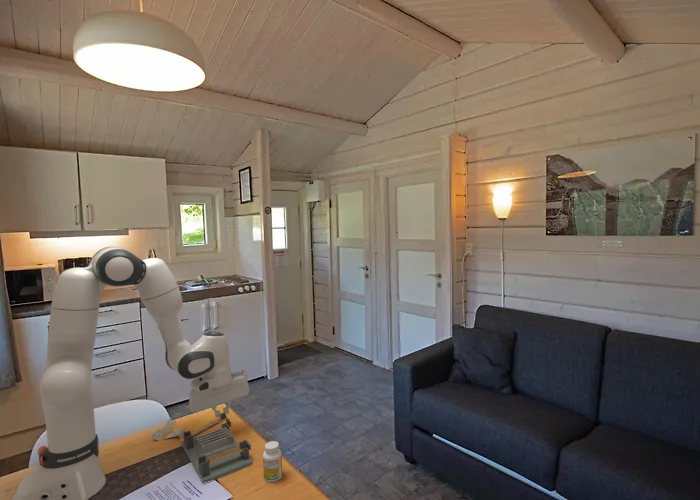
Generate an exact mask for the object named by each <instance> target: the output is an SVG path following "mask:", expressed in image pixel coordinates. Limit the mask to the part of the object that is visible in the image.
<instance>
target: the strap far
mask: <svg viewBox="0 0 700 500" xmlns="http://www.w3.org/2000/svg"><path fill="white" fill-rule="evenodd" d="M226 418H228V417H227V414H224V412H221V416H220V417H217V418H215V419H214V420H212V421H210V422H208V423H206V424H205V425H203V426H201V427H198V428H196V429H194V430H193V431H191V435H193V438H194V437H197V436H200V435H202V433H203V434H204V433H205V432H206V431H208V430H210V429H212V428H214V427H216V426H218V425H220V424H223V423H224V422H226Z"/></svg>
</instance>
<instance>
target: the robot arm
mask: <svg viewBox="0 0 700 500" xmlns="http://www.w3.org/2000/svg"><path fill="white" fill-rule="evenodd" d="M55 284H56V285H55V287H54V291H53V295H52V301H51V306H50V314H49V324H48V331H47V345H46V346H47V348H46V362H45V367H44V371H43V374H42V377H41V379H40V382H39V392H40V401H41V406H42V411H43V416H44V419H45V429H46V439H47V441H46V442H47V446H46V445H41V446H39V448H38V449H37V455H38V461H39V462H38V463H39V464H38V465H37V466H35V467H34V468H33V469H32V470H31V471H30V472H28V473H27V474H26V475H25V476H24V477H23V478H22V479H21V481H20V482H19V484H18V486H17V488H16V492H15V495H14V496H13V497H12V498H11V499H10V500H89V499H90V498H92V497H93V496H94V495H96V494H97V493H98V492H100V491H101V490H102V489H103V487H104V486H105V485H106V482H107V478H106V476H105V474H104V472H103V469H102V466H101V460H100V459H99V457H100V456H99V455H100V454H99V453H100V441H99V437H98V434H97V432H96V420H95V408H94V399H93V390H92V389H93V388H92V366H93V360H94V358H93V357H94V351H95V343H96V337H97V327H98V319H99V311H100V302H101V301H100V300H101V296H102V293H103V290H104V289H105V287H107V286H109V287H110V286H111V287H126V286H134V287H135V289H136V290H137V292H138V294H139V297H140V299H141V301H142V302H141V303H143V306H144V307H145V309H146V311H147V312H148V314H149V316H150V317H151V318H152V319H153V321H154V322H155V323H156V325H157V327H158V329H159V331H160V332H159V333H160V334H161V337H162V340H163V342H164V346H165V355H164V356H165V357H164V358H165V363H166V365H167V366H168V367H169V368H170V369H171V370H172V371H175V372H176V373H177V374H178V375H179V376H180V377H182V378H184V379H188V380H191V381H190V386H191V390H190V392H189V397H188V399H189V401H188V403H189V406H188V407H189V409H190V411H191V412H192V413H194V414H196V413H197V414H198V413H200V412H203V411H205V410H208V409H212V411H213V412H214V415H215V419H218V418H220V416H221V414H222V413H224V414H225V415H228V414H230V410H229V409H230V408H231V405H232V401H235V400H237V399H240V398H243V397H247V396H248V395H249V394H250V387H249V386H250V385H249V382H248V379H249V375H248V372H247V371H246V370H242V369H241V370H239V371H234V372H232V368H231V363H230V348H229V342H228V338H227V336H226V335H225V334H224V333H223V332H220V331H207V332H205V333H204V332H203V334H202V335H201V337H200V338H199V339H198V340H196V341H195V342H194V343H193V344H192V343H191V342H189V341H188V340H187V339H186V337H185V335H184V332H183V331H182V327H181V325H180V323H179V319H178V313H180V311H181V310H182V309H183V305H184V304H183V302H184V301H183V297H182V293H181V290H180V288H179V285H178V282H177V281H176V278H175V277H174V275H173V273H172V271H171V269H170V268H169V266H168V265H167V263H166V262H165V261H164V260H163V259H161V258H159V257H150V258H145V259H141V258H140V257H138V256H137V255H135V254H134V253H132V252H131V251H130V250H128V249H127V248H124V247H121V246H107V247H103V248H101V249H99V250H98V251H97V252H95V254H94V255H93V256H92V257H91V259H90V260H89V261H88V262H87V263H86V264H85V266H84V267H72V268H71V267H70V268H68V269H65V270H63V271H62V272H61V273H60V275H59V277H58V280H57V282H56V283H55ZM225 403H226V405H225V407H224V408H222V411H223V412H221V411H220V410H219V409H218V408H217V407H218V406H220V405H223V404H225ZM217 409H218V410H217Z"/></svg>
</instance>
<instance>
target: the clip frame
mask: <svg viewBox="0 0 700 500" xmlns="http://www.w3.org/2000/svg"><path fill="white" fill-rule="evenodd" d="M225 419H226V420H225V423H224V422H223V423H221V428H224V427H227V429H228V431H230V429H231V428H232V422H231V420H230V418H228V417H227V418H225ZM185 431H186V430H185ZM230 432H231V431H230ZM193 438H194V436H193V434H191V430H187V431H186V432H184V436H183V441H184V444H185V446H186V448H187V449H190V448H193V447H194V442H193ZM243 441H244V442H245V443H246V444H247V448H246V451H243V452H240V455H241V456H242V457H243V459H244V460H247V459H249V457H250V451H251V450H252V448H251V447H252V446H251V444H250V442H249V441H248V440H247V439H246V438H245V439H244V440H243ZM198 466H199V471H200V473H201V475H202V477H205V476H207V475H210V469H209V461H206V456H205V455H203V456H200V457H198Z"/></svg>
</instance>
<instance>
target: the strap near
mask: <svg viewBox="0 0 700 500" xmlns="http://www.w3.org/2000/svg"><path fill="white" fill-rule="evenodd" d="M238 444H239V446H238V447H235V448H232V449H230V450H227V451H224V452H221V453H218V454H216V455H213V456H210V457H208V461H209V463H210V464H211V463H214V462H216V461H219V460H222V459H224V458H227V457H230V456H232V455H235V454H238V453H240V452H243V451H246V448H247V444H246V443H245V442H244V440H243V441H241V442H239V443H238ZM247 449H248V448H247Z"/></svg>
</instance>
